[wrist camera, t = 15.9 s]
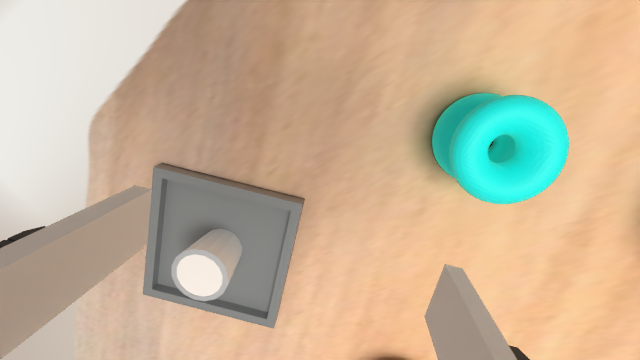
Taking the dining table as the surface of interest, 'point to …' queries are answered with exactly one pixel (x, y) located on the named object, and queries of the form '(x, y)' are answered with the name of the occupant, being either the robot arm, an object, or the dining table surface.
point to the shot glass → (207, 265)
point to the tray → (233, 215)
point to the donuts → (501, 146)
